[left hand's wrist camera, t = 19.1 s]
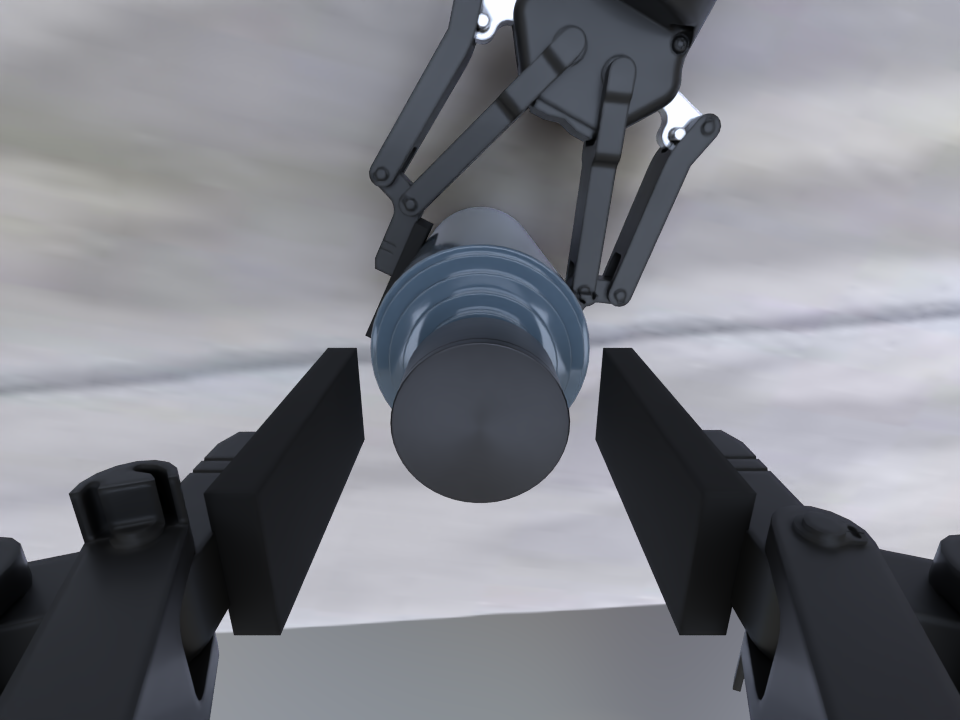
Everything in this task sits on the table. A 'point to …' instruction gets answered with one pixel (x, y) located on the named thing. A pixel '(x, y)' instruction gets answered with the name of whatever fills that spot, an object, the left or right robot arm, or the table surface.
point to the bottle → (480, 297)
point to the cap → (480, 412)
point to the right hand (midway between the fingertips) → (441, 360)
